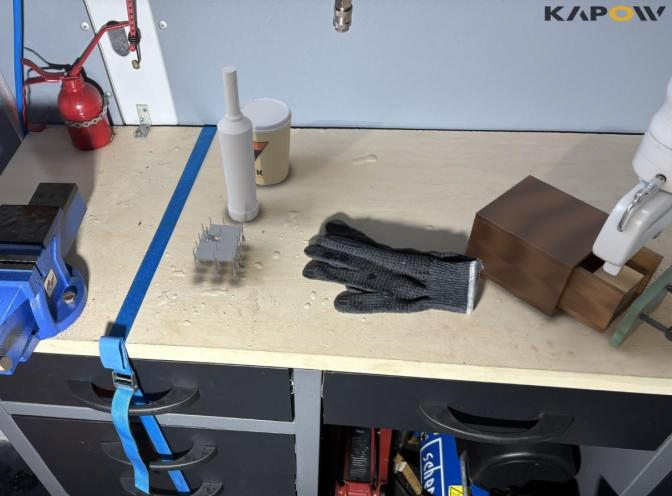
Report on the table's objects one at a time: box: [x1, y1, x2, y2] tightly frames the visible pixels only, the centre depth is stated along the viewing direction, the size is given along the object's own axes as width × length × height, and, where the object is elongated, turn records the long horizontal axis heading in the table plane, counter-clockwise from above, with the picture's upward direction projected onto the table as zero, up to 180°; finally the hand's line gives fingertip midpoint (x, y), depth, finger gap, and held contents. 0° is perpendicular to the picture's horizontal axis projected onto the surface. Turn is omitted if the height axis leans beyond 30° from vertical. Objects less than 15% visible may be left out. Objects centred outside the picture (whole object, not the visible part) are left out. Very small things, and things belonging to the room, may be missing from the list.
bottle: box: [216, 65, 260, 223], centre depth 91 cm, size 5×5×25 cm
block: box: [593, 263, 644, 315], centre depth 80 cm, size 5×5×5 cm
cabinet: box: [464, 174, 610, 318], centre depth 85 cm, size 15×13×10 cm
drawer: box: [557, 245, 672, 350], centre depth 79 cm, size 18×11×8 cm, turn 40°
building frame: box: [192, 215, 247, 283], centre depth 90 cm, size 6×8×6 cm
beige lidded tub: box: [239, 97, 293, 186], centre depth 103 cm, size 9×9×12 cm
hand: (632, 251), depth 75 cm, fingers open, 8 cm apart
